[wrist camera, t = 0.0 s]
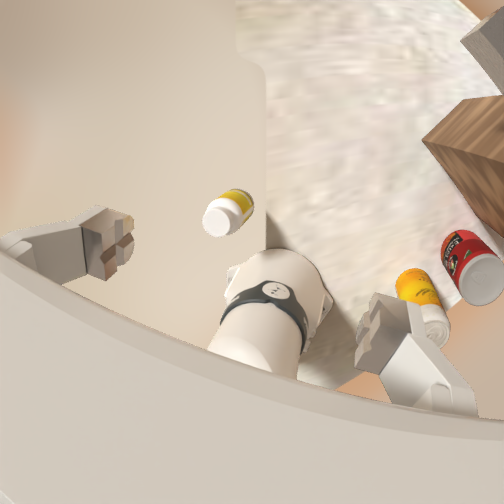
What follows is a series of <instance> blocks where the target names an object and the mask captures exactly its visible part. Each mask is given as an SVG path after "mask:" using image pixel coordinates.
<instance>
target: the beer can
mask: <svg viewBox="0 0 504 504" xmlns="http://www.w3.org/2000/svg"><path fill="white" fill-rule="evenodd" d="M395 289H396V293H397V297H398V299H401V300H405V301H409V302H413V303H417V304H419V305H420V308H421V312H422V316H423V321H424V325H425V330H426V334H427V338H428V339H431V340H432V341H433V342H434V343H435V344H436V346H437V347H438V348H439V349H441V348H442V347H443V346H444V345H445V344H446V342H447V341H448V339H449V335H450V322H449V320H448V317H447V315H446V313H445V311H444V308H443V306H442V304H441V302H440V299H439V297H438V295H437V293H436V291H435V289H434V287H433V285H432V282H431V280H430V278H429V276H428V275H427V273H426V272H425V271H423V270H421V269H418V268H412V269H408V270H406V271H404V272H403V273H402V274H401V275H400V276H399V277H398V279H397V281H396V285H395Z"/></svg>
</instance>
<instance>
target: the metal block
mask: <svg viewBox="0 0 504 504" xmlns="http://www.w3.org/2000/svg"><path fill="white" fill-rule="evenodd" d="M460 42H461V43H462V44H463V45H464V46H465V47H466V49H467V50H468V51H469V52H470V53H471V54H472V56H473V57H474V58H475V59H476V60H477V62H478V63H479V64H480V65H481V67H482V68H483V69H484V70H485V72H486V73H487V74H488V75H489V77H490V78H491V79H492V81H493V82H494V83H495V85H496V86H497V87H498V89H499V90H500V92H501V93H502V94H503V96H504V6H503V7H501V8H500V9H498V10H496V11H495V12H493V13H492V14H490V15H489V16H487V17H485V18H484V19H483V20H482V21H481V22H480V23H479V24H478V25H476V26H475V27H474V28H473V29H472V30H471V31H470V32H469V33H468V34H467V35H466V36H465V37H463V38H462V39H461V40H460Z"/></svg>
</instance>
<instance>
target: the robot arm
mask: <svg viewBox="0 0 504 504" xmlns="http://www.w3.org/2000/svg"><path fill="white" fill-rule="evenodd" d="M133 229H134V219H133V218H132V217H131V216H130V215H127V214H124V213H121V212H118V211H115V210H112V209H109V208H106V207H103V206H99V205H95V206H93V207H92V208H90V209H88V210H86V211H85V212H83V213H82V214H80V215H78V216H76V217H75V218H73V219H72V220H70V221H68V222H67V221H61V222H55V223H50V224H45V225H40V226H35V227H30V228H26V229H20V230H16V231H11V232H8V233H7V234H6V235H4V236H2V237H1V238H0V504H504V420H496V419H486V418H479V416H478V410H477V405H476V400H475V395H474V391H473V390H472V388H471V387H470V386H469V384H468V383H467V382H466V381H465V379H464V378H463V377H462V376H461V374H460V373H459V372H458V371H457V369H456V368H455V367H454V366H453V365H452V363H451V362H450V361H449V360H448V359H447V357H446V356H445V355H444V354H443V353H442V351H441V350H440V349H439V348H438V347H437V346H436V344H435V343H434V342H433V341H432V340H431V339H428V338H427V334H426V330H425V325H424V321H423V316H422V312H421V308H420V305H419V304H417V303H413V302H409V301H405V300H401V299H398V298H394V297H391V296H387V295H383V294H380V293H376V292H375V294H374V295H373V296H372V298H371V300H370V302H369V311H367V312H366V313H364V314H363V316H362V318H361V320H360V322H359V325H358V328H357V333H356V343H357V345H358V348H357V350H356V351H355V363H354V368H356V369H360V370H363V371H367V372H371V373H374V374H378V375H379V378H380V380H381V382H382V384H383V386H384V388H385V390H386V392H387V394H388V396H389V397H390V400H391V402H392V404H390V403H386V402H381V401H377V400H372V399H368V398H363V397H359V396H355V395H351V394H346V393H342V392H339V391H335V390H331V389H327V388H323V387H320V386H316V385H312V384H309V383H305V382H302V381H298V380H297V371H298V363H299V356H300V355H301V353H302V352H306V351H307V350H308V348H309V346H310V342H311V341H310V340H309V339H310V337H311V338H313V337H314V336H315V334H316V329H317V328H318V326H319V325H320V323H321V322H322V321H323V319H324V318H325V316H326V315H327V313H328V312H329V311H330V309H331V308H332V305H333V299H332V297H331V296H330V294H329V293H328V292H327V291H326V290H325V289H324V287H323V284H322V281H321V278H320V275H319V273H318V271H317V270H316V268H315V267H314V266H313V264H312V263H311V262H310V261H309V260H307V259H306V258H305V257H303V256H302V255H300V254H298V253H296V252H293V251H290V250H286V249H268V250H264V251H261V252H259V253H257V254H255V255H253V256H252V257H251V258H250V259H248V260H247V261H246V262H244V263H242V264H238V265H234V266H231V267H230V268H229V269H228V271H227V274H226V278H227V290H226V292H225V295H224V297H225V298H226V309H225V311H224V313H223V315H222V318H221V322H220V327H219V329H218V330H217V332H216V334H215V336H214V337H213V339H212V341H211V343H210V344H209V346H208V348H207V349H206V350H205V349H202V348H200V347H197V346H194V345H192V344H189V343H187V342H184V341H182V340H179V339H177V338H174V337H172V336H169V335H167V334H165V333H162V332H159V331H157V330H155V329H153V328H150V327H148V326H146V325H143V324H141V323H139V322H137V321H134V320H132V319H130V318H128V317H125V316H123V315H121V314H119V313H117V312H114V311H112V310H110V309H108V308H106V307H104V306H102V305H100V304H97V303H95V302H93V301H91V300H89V299H87V298H85V297H83V296H81V295H79V294H77V293H75V292H73V291H71V290H69V289H67V288H65V287H64V286H62V284H64V283H67V282H69V281H72V280H74V279H77V278H80V277H82V276H85V275H87V274H89V275H91V276H94V277H97V278H99V279H102V280H104V281H107V280H108V279H109V278H110V277H111V276H112V275H113V274H114V273H115V272H117V266H120V265H124V264H125V263H126V262H127V261H128V260H129V259H130V257H131V255H132V253H133V249H134V239H133V237H132V235H131V232H132V230H133ZM323 307H324V309H323Z"/></svg>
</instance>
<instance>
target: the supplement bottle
mask: <svg viewBox="0 0 504 504" xmlns="http://www.w3.org/2000/svg"><path fill="white" fill-rule="evenodd" d="M253 210H254V202H253V199H252V197H251V196H250V194H248V192H246V191H244V190H242V189H231V190H229V191H227V192H226V193H224V194H223V195H221V196H220V197H218V198H217V199H215V200H214V201H212V202H211V203H210V204H209V206H208V208H207V210H206V213H205V214H204V216H203V220H202V223H203V227H204V229H205V230H206V232H207V233H208V234H210V235H211V236H213V237H222V236H224V235H230V234H233V233H235V232H236V231H237V230H238V229H239V228H240V227H241V226H242V225H243V224H244V223H245V222H246V221H247V219H248V218H249V217H250V216H251V215H252V213H253Z"/></svg>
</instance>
